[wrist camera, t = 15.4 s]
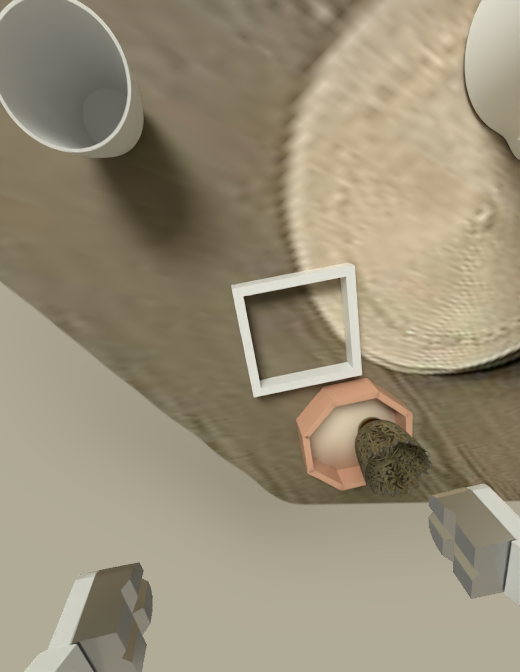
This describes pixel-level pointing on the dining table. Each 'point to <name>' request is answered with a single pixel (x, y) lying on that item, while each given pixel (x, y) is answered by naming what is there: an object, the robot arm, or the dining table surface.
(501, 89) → the robot arm
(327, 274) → the open white square frame
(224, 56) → the dining table surface
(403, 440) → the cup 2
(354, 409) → the bowl
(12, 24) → the cup
